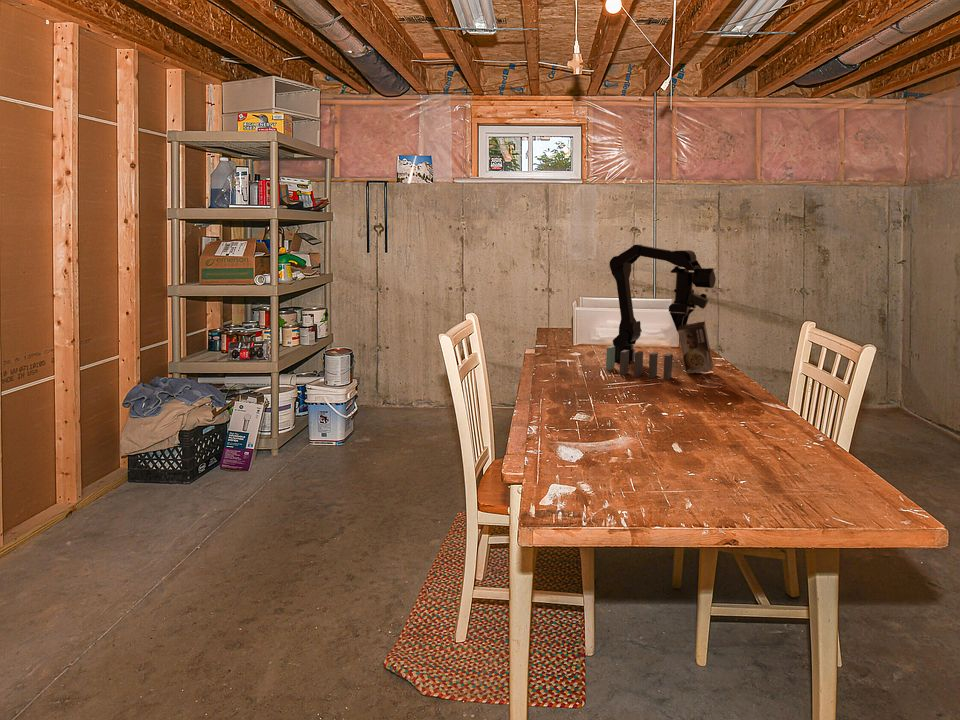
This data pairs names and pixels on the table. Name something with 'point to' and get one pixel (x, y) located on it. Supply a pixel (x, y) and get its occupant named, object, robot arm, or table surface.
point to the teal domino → (610, 358)
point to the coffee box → (695, 347)
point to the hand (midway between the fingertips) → (681, 330)
